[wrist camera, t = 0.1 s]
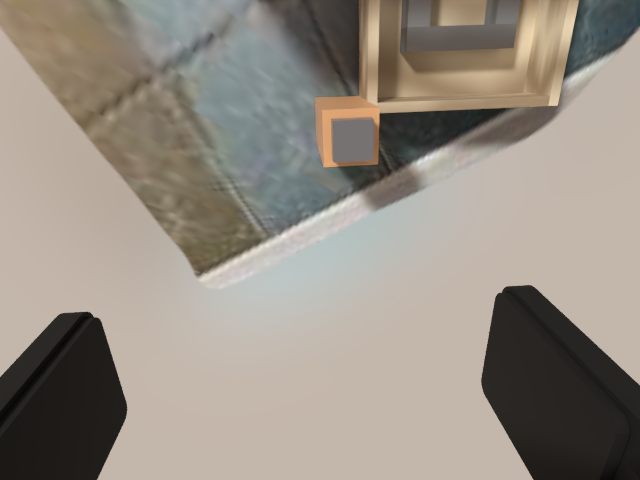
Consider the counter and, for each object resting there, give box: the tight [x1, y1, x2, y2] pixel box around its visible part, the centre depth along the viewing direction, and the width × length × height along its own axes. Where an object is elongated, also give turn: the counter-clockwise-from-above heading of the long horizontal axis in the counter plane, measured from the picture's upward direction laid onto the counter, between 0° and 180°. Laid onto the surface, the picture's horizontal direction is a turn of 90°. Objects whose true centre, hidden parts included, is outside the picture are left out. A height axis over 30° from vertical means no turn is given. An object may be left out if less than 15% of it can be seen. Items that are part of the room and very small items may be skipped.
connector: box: [315, 96, 380, 167], centre depth 32 cm, size 4×4×11 cm
